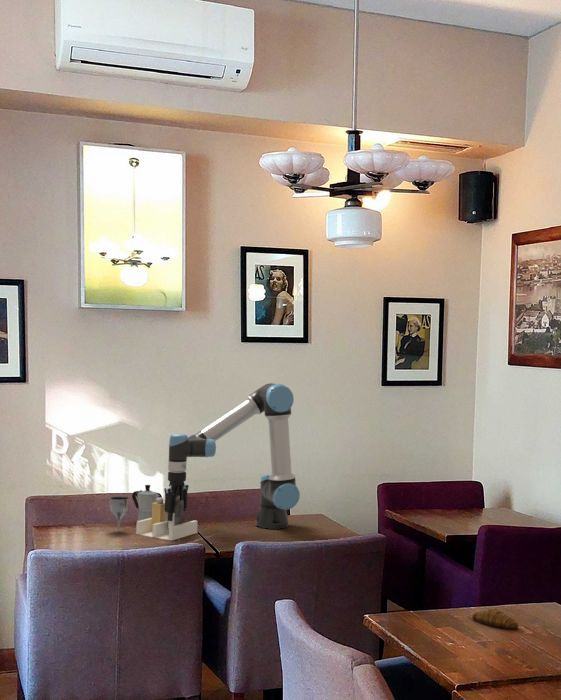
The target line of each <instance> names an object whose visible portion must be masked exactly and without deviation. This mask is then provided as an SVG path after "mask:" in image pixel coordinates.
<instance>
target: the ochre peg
mask: <svg viewBox="0 0 561 700" xmlns="http://www.w3.org/2000/svg"><path fill="white" fill-rule="evenodd" d="M167 520H168V513H167V512H165V497H157V498H156V503H152V526H151V532H152V531H153V524H156V523H159V522H163V521H167Z"/></svg>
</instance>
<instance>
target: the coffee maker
mask: <svg viewBox="0 0 561 700" xmlns="http://www.w3.org/2000/svg"><path fill="white" fill-rule="evenodd" d="M144 486H145V490H143V489H141V490H136V491H133V493H132V495H131V497H132V498H131V499H132V500H133V502H134V506H135V507H136V509H139V511H138V517H137V521H140V520H144V519H149V518H152V503H156V498H159V495H158V492H157V491H156V492H155V491H153V490H150V488H151V484H145V485H144Z"/></svg>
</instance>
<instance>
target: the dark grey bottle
mask: <svg viewBox="0 0 561 700" xmlns="http://www.w3.org/2000/svg"><path fill="white" fill-rule="evenodd" d="M183 506H184V500H180V495H178V496H177V497H176V501H175V507H174V513H175V525H179V524H183V523H184V511H183ZM175 525H174V526H175ZM167 529H169V528H168V526H167Z"/></svg>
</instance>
